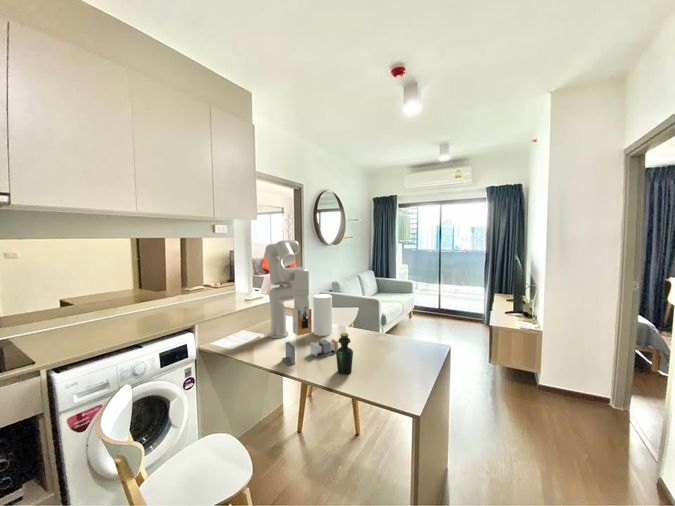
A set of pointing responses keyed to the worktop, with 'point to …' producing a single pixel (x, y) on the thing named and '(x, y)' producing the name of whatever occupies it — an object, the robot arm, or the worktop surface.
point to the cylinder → (322, 314)
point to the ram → (319, 348)
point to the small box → (298, 323)
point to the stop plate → (289, 354)
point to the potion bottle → (344, 355)
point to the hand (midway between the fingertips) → (302, 325)
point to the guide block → (325, 348)
